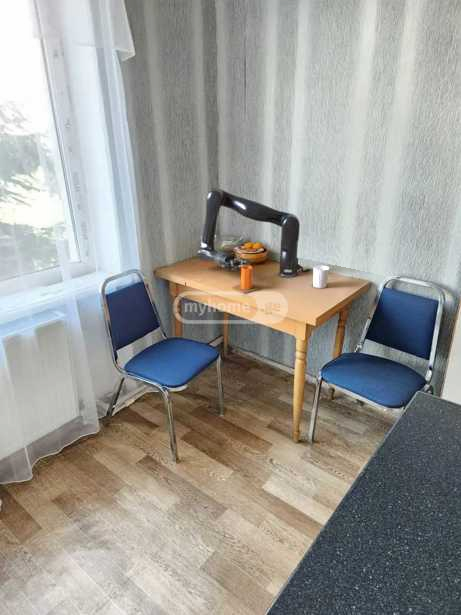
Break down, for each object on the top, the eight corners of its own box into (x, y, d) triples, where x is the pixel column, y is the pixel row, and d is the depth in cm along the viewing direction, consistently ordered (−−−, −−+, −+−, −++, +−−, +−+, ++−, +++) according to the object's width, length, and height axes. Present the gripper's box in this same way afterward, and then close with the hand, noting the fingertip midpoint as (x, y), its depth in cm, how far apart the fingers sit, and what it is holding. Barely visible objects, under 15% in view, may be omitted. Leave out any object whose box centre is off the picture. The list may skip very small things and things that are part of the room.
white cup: (309, 284, 207) (310, 266, 203) (322, 282, 210) (323, 264, 206) (317, 289, 200) (318, 271, 196) (330, 287, 203) (332, 269, 199)
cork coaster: (248, 283, 209) (248, 282, 209) (260, 289, 201) (260, 288, 201) (233, 287, 204) (233, 286, 204) (244, 293, 196) (244, 292, 196)
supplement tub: (219, 256, 252) (218, 234, 245) (214, 261, 243) (214, 238, 237) (204, 255, 254) (203, 233, 248) (199, 260, 246) (199, 237, 239)
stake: (236, 264, 238) (236, 249, 234) (242, 268, 230) (242, 253, 227) (222, 266, 235) (222, 251, 231) (228, 270, 227) (228, 255, 223)
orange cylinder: (241, 285, 205) (241, 265, 201) (252, 285, 205) (252, 265, 200) (240, 289, 200) (241, 269, 195) (251, 289, 200) (252, 269, 195)
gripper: (213, 256, 204) (234, 263, 193) (234, 250, 213) (255, 257, 202) (214, 269, 207) (234, 277, 196) (234, 263, 216) (254, 271, 205)
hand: (245, 267), depth 199 cm, fingers open, 8 cm apart
